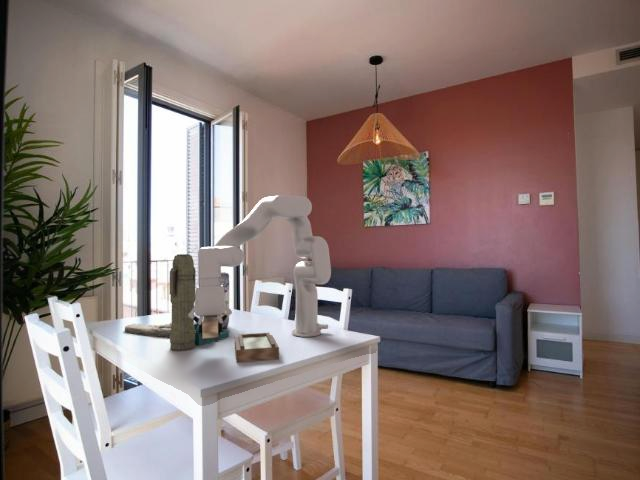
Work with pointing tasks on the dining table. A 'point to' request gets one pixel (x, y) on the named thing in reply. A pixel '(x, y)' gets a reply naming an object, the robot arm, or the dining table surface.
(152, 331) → the long grey stone
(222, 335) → the bracket
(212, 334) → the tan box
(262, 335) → the dock
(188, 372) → the dining table surface
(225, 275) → the juice carton
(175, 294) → the thermos
